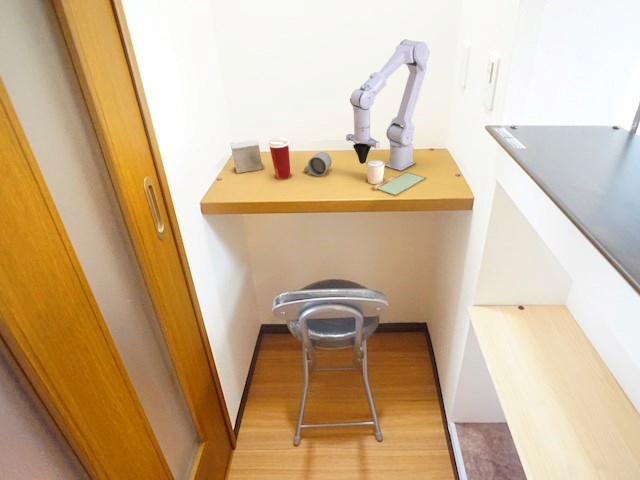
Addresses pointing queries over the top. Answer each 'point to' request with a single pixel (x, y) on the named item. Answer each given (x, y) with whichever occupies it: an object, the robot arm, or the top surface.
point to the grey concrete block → (246, 156)
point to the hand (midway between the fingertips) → (362, 162)
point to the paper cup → (280, 157)
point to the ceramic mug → (319, 164)
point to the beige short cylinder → (375, 171)
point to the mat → (400, 183)
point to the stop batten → (383, 182)
